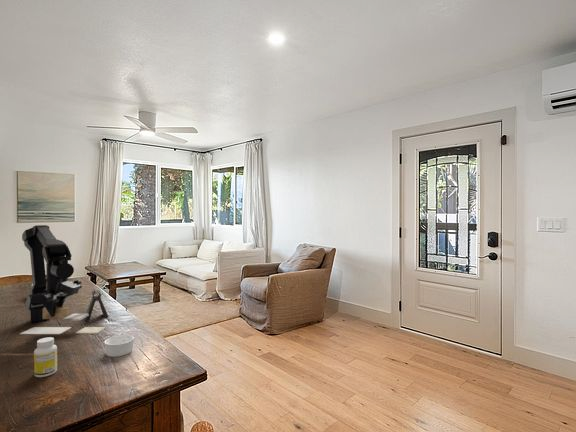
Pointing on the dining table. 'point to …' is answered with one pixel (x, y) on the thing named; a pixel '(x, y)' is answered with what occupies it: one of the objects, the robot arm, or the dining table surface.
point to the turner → (64, 314)
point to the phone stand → (91, 305)
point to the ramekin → (119, 345)
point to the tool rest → (46, 330)
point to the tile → (90, 330)
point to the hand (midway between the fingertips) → (55, 315)
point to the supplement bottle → (45, 357)
